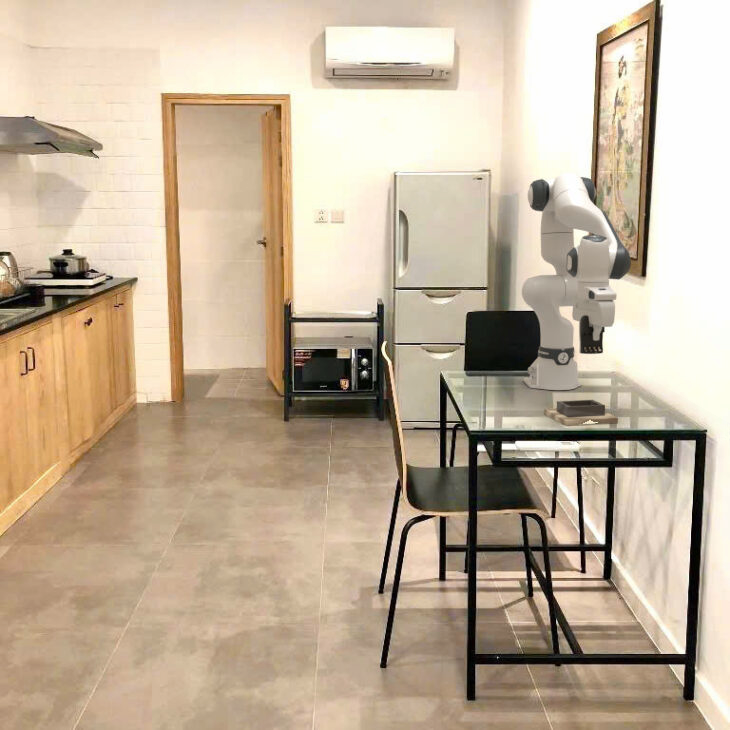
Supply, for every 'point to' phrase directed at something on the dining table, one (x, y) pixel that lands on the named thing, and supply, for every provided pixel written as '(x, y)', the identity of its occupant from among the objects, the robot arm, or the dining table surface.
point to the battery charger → (589, 337)
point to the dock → (580, 412)
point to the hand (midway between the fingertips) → (591, 339)
